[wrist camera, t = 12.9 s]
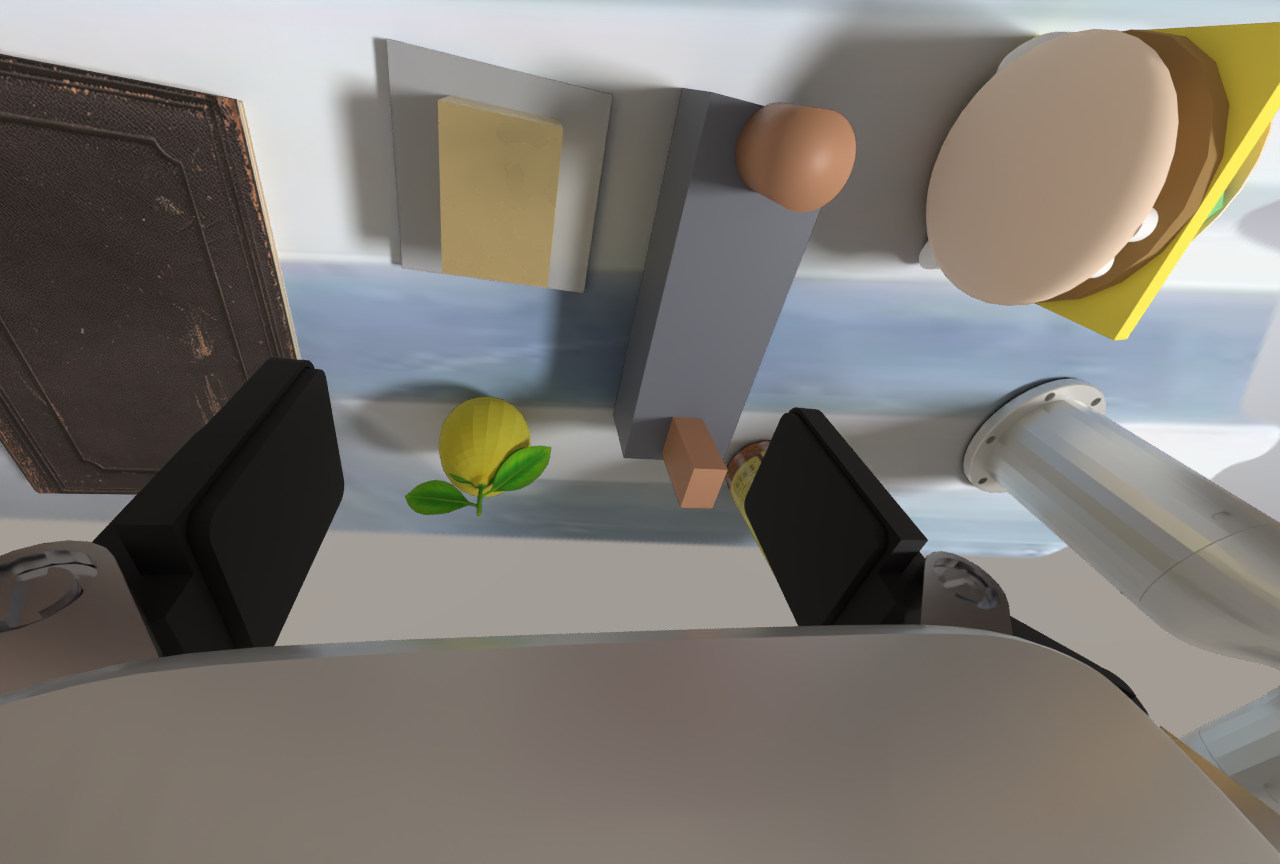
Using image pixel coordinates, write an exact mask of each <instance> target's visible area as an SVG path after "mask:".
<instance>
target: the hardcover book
mask: <svg viewBox="0 0 1280 864" xmlns="http://www.w3.org/2000/svg"><path fill="white" fill-rule="evenodd" d="M271 357H278V358H288V359H298V360H301V356H300V352H299V347H298V343H297V338H296V334H295V330H294V325H293V321H292V316H291V312H290V307H289V303H288V299H287V294H286V290H285V285H284V281H283V276H282V272H281V268H280V263H279V259H278V254H277V250H276V245H275V241H274V236H273V232H272V228H271V223H270V219H269V214H268V210H267V205H266V201H265V197H264V192H263V188H262V183H261V179H260V174H259V170H258V166H257V161H256V157H255V152H254V148H253V143H252V139H251V135H250V130H249V126H248V121H247V117H246V112H245V108H244V104H243V102H242V101H239V100H237V99H232V98H227V97H222V96H217V95H211V94H206V93H201V92H196V91H191V90H185V89H180V88H175V87H170V86H164V85H159V84H154V83H149V82H144V81H138V80H133V79H128V78H123V77H117V76H112V75H107V74H102V73H96V72H91V71H86V70H81V69H76V68H70V67H65V66H60V65H55V64H49V63H44V62H39V61H34V60H29V59H23V58H18V57H13V56H8V55H2V54H0V441H1V442H2V444H3V445H4V447H5V448H6V450H7V451H8V452H9V454H10V455H11V457H12V458H13V460H14V461H15V463H16V464H17V465H18V467H19V468H20V470H21V471H22V473H23V474H24V476H25V477H26V478H27V480H28V481H29V483H30V484H31V486H32V487H33V489H34V490H35V491H36V492H38V493H65V494H138V493H139V492H140V491H141V490H142V489H143V488H144V487H145V486H146V485H147V484H148V483H149V482H150V480H151V479H152V478H153V477H154V476H155V475H156V474H157V473H158V472H159V471H160V470H161V469H162V468H163V467H164V466H165V465H166V464H167V463H168V462H169V460H170V459H171V458H172V457H173V456H174V455H175V454H176V453H177V452H178V451H179V450H180V449H181V448H182V447H183V446H184V445H185V444H186V443H187V442H188V440H189V439H190V438H191V437H192V436H193V435H194V434H195V433H196V432H198V431H199V430H200V429H202V428H203V427H204V426H205V425H206V424H207V423H208V422H209V421H210V420H211V419H212V418H213V417H214V416H215V415H216V414H217V413H218V412H219V410H220V409H221V408H222V407H223V406H224V405H225V404H226V403H227V402H228V401H229V400H230V399H231V398H232V397H233V396H234V395H235V393H236V392H237V391H238V390H239V389H240V388H241V387H242V386H243V385H244V384H245V383H246V382H247V381H248V380H249V379H250V378H251V377H252V375H253V374H254V373H255V372H256V371H257V370H258V369H259V368H260V367H261V366H262V365H263V364H264V363H265V362H266V361H267V360H268V359H269V358H271Z"/></svg>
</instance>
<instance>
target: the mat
mask: <svg viewBox="0 0 1280 864" xmlns="http://www.w3.org/2000/svg"><path fill="white" fill-rule="evenodd" d="M386 40H387V54H388V69H389V83H390V98H391V112H392V127H393V141H394V156H395V170H396V185H397V199H398V214H399V228H400V243H401V257H402V268H404V269H412V270H419V271H426V272H434V273H441V274H445V273H442V251H441V211H440V171H439V131H438V100H439V99H442V98H444V97H447V96H450V95H451V96H456V97H460V98H465V99H469V100H473V101H478V102H482V103H487V104H491V105H495V106H500V107H504V108H509V109H513V110H517V111H522V112H526V113H531V114H535V115H539V116H544V117H548V118H553V119H557V120H559V121H560V123H561V124H562V126H563V128H564V129H563V139H562V149H561V159H560V169H559V179H558V189H557V199H556V209H555V219H554V229H553V239H552V249H551V259H550V269H549V279H548V287H543V288H550V289H557V290H565V291H572V292H579V293H584V288H585V281H586V274H587V268H588V261H589V254H590V247H591V240H592V233H593V226H594V219H595V213H596V206H597V199H598V192H599V185H600V178H601V171H602V164H603V158H604V151H605V144H606V137H607V130H608V123H609V116H610V109H611V103H612V96H613V95H611V94H607V93H603V92H599V91H595V90H591V89H587V88H583V87H579V86H575V85H571V84H567V83H563V82H559V81H555V80H551V79H547V78H543V77H539V76H535V75H531V74H527V73H523V72H519V71H515V70H511V69H507V68H503V67H499V66H495V65H491V64H487V63H483V62H479V61H475V60H471V59H467V58H463V57H459V56H455V55H451V54H447V53H443V52H439V51H435V50H431V49H427V48H423V47H419V46H415V45H411V44H407V43H403V42H399V41H395V40H391V39H386ZM448 275H452V274H448ZM455 276H460V275H455ZM463 277H467V276H463ZM470 278H475V277H470ZM477 279H482V278H477ZM485 280H489V279H485ZM492 281H497V280H492ZM499 282H504V281H499ZM506 283H511V282H506ZM514 284H519V283H514ZM521 285H526V284H521ZM528 286H533V285H528ZM536 287H541V286H536Z"/></svg>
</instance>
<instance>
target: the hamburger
mask: <svg viewBox="0 0 1280 864" xmlns="http://www.w3.org/2000/svg"><path fill="white" fill-rule="evenodd" d="M1279 108H1280V22H1272V23H1255V24H1238V25H1220V26H1203V27H1186V28H1169V29H1152V30H1128V31H1118V30H1102V29H1091V30H1085V31H1080V32H1052V33H1047V34H1044V35H1041V36H1034V37H1033V39H1031V40H1029V41H1027V42H1025V43H1023V44H1021V45H1020V46H1018V47H1017V48H1015V49H1014V50H1013V51H1011V52H1010V53H1009V54H1008V55H1007V56H1006V57H1005V58H1004V59H1003V60H1002V62H1001V63H1000V65H999V67H998V70H997V73H996V74H995V75H994V76H993V77H992V78H991V79H990V80H989V81H988V82H987V83H986V84H985V85H984V86H983V87H982V88H981V89H980V90H979V91H978V92H977V93H976V95H975V96H974V97H973V98H972V100H971V101H970V102H969V103H968V105H967V106H966V107H965V108H964V110H963V111H962V112H961V114H960V115H959V117H958V119H957V120H956V122H955V123H954V125H953V126H952V128H951V130H950V131H949V133H948V135H947V137H946V139H945V141H944V143H943V145H942V147H941V150H940V152H939V155H938V157H937V160H936V163H935V165H934V168H933V172H932V176H931V179H930V183H929V188H928V195H927V201H926V225H927V235H928V239H929V240H928V241H927V243H926V244H925V246H924V247H923V249H922V250H921V252H920V255H919V264H920V266H921V267H922V268H925V269H941V270H942V272H943V273H944V275H945V276H946V277H947V278H948V279H949V280H950V281H951V282H952V283H953V284H954V285H955V286H956V287H957V288H958V289H960V290H961V291H963V292H964V293H966V294H967V295H969V296H971V297H973V298H976V299H978V300H981V301H984V302H987V303H991V304H999V305H1006V306H1011V305H1028V304H1032V303H1035V304H1037V305H1040V306H1042V307H1044V308H1046V309H1048V310H1050V311H1052V312H1054V313H1057V314H1059V315H1061V316H1063V317H1065V318H1067V319H1069V320H1072V321H1074V322H1076V323H1078V324H1080V325H1082V326H1084V327H1086V328H1089V329H1091V330H1093V331H1095V332H1097V333H1099V334H1101V335H1104V336H1106V337H1108V338H1110V339H1112V340H1123V339H1127V338H1128V336H1129V335H1130V333H1131V332H1132V330H1133V329H1134V327H1135V326H1136V324H1137V323H1138V321H1139V320H1140V318H1141V317H1142V315H1143V314H1144V312H1145V311H1146V309H1147V308H1148V306H1149V305H1150V303H1151V302H1152V300H1153V299H1154V297H1155V296H1156V294H1157V292H1158V291H1159V289H1160V288H1161V286H1162V285H1163V283H1164V282H1165V280H1166V279H1167V277H1168V276H1169V274H1170V273H1171V271H1172V270H1173V268H1174V267H1175V265H1176V264H1177V262H1178V261H1179V259H1180V258H1181V256H1182V255H1183V253H1184V252H1185V250H1186V249H1187V247H1188V246H1189V244H1190V243H1191V242H1192V241H1193V240H1195V239H1196V238H1197V237H1198V236H1199V235H1200V234H1202V233H1203V232H1204V231H1205V230H1206V229H1207V228H1208V227H1209V226H1210V225H1211V224H1212V223H1213V222H1214V221H1215V220H1216V219H1217V218H1218V217H1219V216H1220V215H1221V214H1222V213H1223V212H1224V211H1225V209H1226V208H1227V207H1228V206H1229V205H1230V203H1231V202H1232V201H1233V200H1234V198H1235V197H1236V196H1237V195H1238V194H1239V192H1240V191H1241V190H1242V189H1243V187H1244V185H1245V184H1246V182H1247V180H1248V179H1249V177H1250V176H1251V174H1252V172H1253V171H1254V169H1255V167H1256V166H1257V164H1258V162H1259V161H1260V158H1261V156H1262V153H1263V151H1264V148H1265V146H1266V144H1267V141H1268V139H1269V136H1270V134H1271V130H1272V125H1273V119H1274V115H1275V114H1276V112H1277V111H1278V109H1279Z"/></svg>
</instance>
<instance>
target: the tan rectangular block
mask: <svg viewBox="0 0 1280 864" xmlns="http://www.w3.org/2000/svg"><path fill="white" fill-rule="evenodd" d="M563 129H564V128H563V126H562V124H561V123H560V121H559V120H557V119H553V118H548V117H544V116H539V115H535V114H531V113H526V112H522V111H517V110H513V109H509V108H504V107H500V106H495V105H491V104H487V103H482V102H478V101H473V100H469V99H465V98H460V97H456V96H451V95H450V96H447V97H444V98H442V99H439V100H438V131H439V171H440V211H441V251H442V273H445V274H452V275H460V276H467V277H475V278H482V279H489V280H497V281H504V282H511V283H519V284H526V285H533V286H541V287H548V279H549V269H550V259H551V249H552V239H553V229H554V219H555V209H556V199H557V189H558V179H559V169H560V159H561V149H562V139H563Z"/></svg>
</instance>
